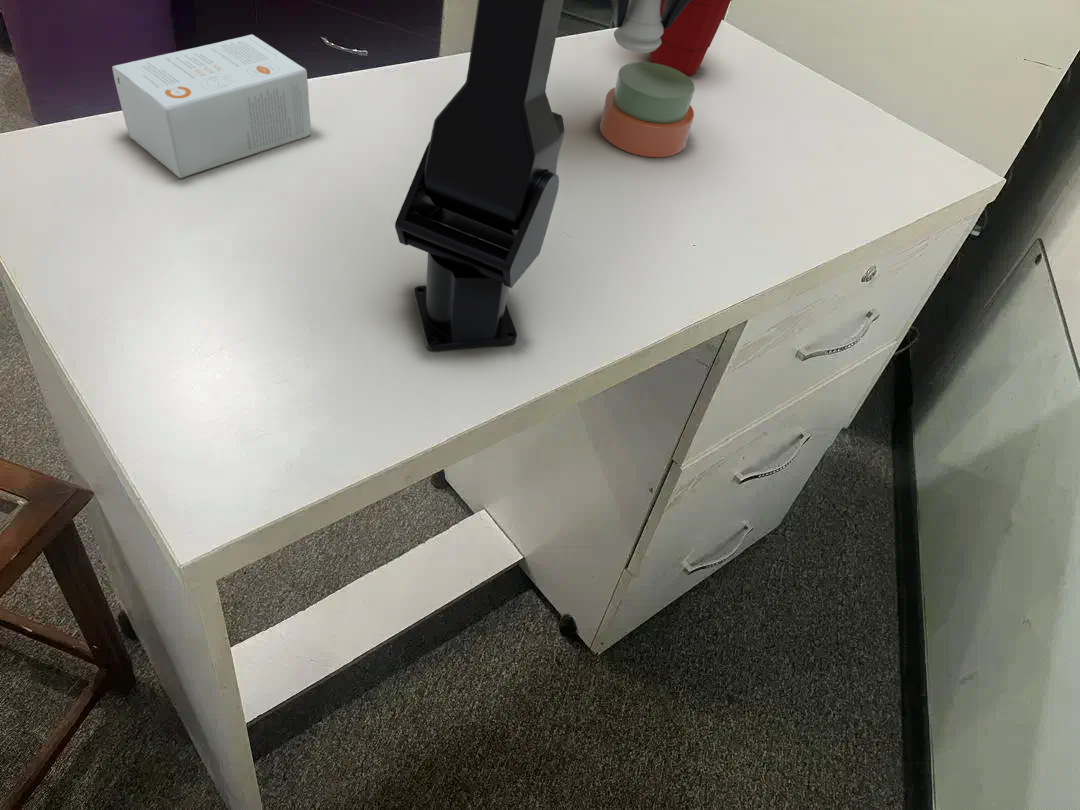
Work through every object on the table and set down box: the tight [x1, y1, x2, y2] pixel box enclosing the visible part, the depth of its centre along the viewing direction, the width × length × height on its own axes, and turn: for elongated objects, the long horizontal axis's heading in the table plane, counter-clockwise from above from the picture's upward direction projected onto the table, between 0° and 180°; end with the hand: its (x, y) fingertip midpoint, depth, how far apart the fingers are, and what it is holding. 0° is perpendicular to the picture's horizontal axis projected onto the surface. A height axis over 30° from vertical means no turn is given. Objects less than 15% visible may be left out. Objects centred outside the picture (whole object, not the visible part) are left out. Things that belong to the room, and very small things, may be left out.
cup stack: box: [599, 61, 696, 158], centre depth 78 cm, size 9×9×6 cm
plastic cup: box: [649, 0, 733, 77], centre depth 89 cm, size 11×11×12 cm
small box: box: [111, 34, 312, 179], centre depth 67 cm, size 8×6×13 cm
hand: (641, 25), depth 70 cm, fingers closed on rook chess piece, 4 cm apart
